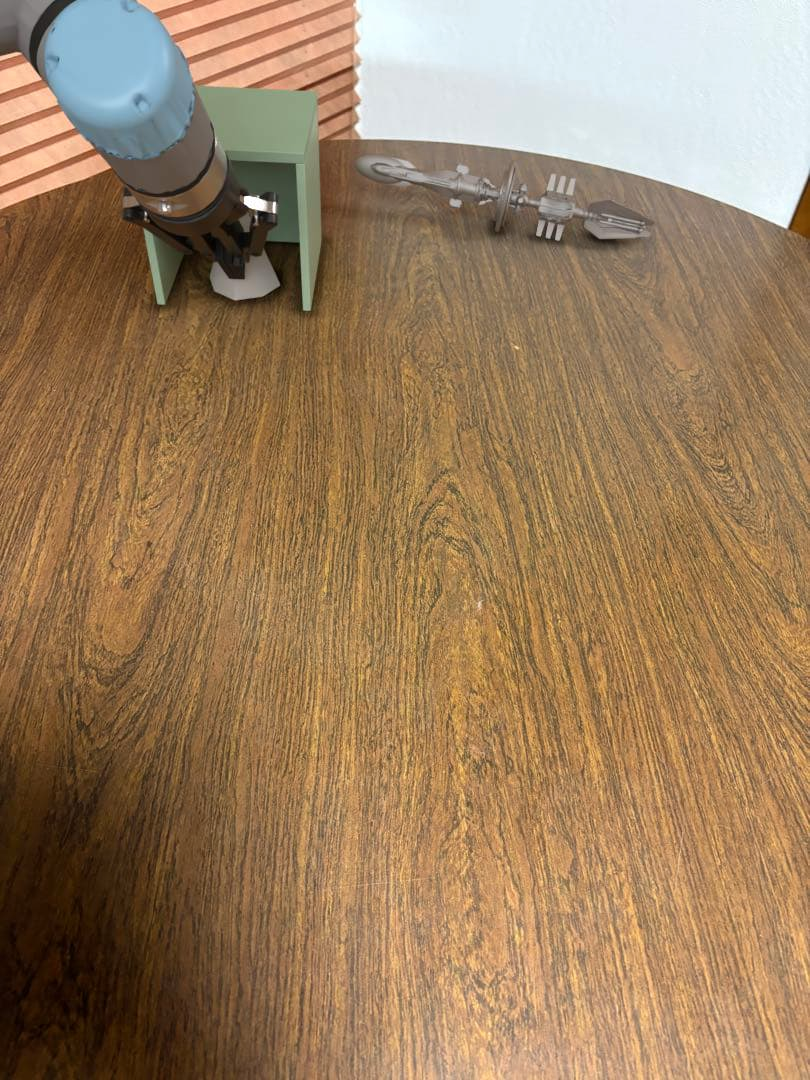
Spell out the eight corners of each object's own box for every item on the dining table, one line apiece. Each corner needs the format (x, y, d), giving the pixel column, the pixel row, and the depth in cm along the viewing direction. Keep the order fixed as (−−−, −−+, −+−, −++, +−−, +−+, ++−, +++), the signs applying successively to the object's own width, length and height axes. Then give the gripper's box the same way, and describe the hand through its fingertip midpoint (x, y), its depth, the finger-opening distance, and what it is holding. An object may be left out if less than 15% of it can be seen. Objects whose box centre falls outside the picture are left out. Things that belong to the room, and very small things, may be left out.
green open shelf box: (310, 311, 88) (304, 153, 76) (157, 304, 87) (127, 144, 76) (321, 240, 98) (317, 91, 86) (184, 234, 98) (161, 83, 86)
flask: (231, 309, 87) (220, 215, 80) (198, 278, 91) (184, 185, 84) (292, 289, 91) (286, 196, 83) (257, 259, 94) (249, 168, 87)
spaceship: (365, 126, 101) (355, 124, 94) (656, 191, 101) (668, 194, 93) (354, 197, 104) (343, 201, 97) (635, 260, 104) (645, 268, 97)
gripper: (85, 217, 63) (170, 300, 86) (265, 224, 63) (301, 305, 86) (88, 113, 62) (172, 225, 86) (268, 120, 63) (303, 230, 86)
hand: (237, 265), depth 86 cm, fingers closed
